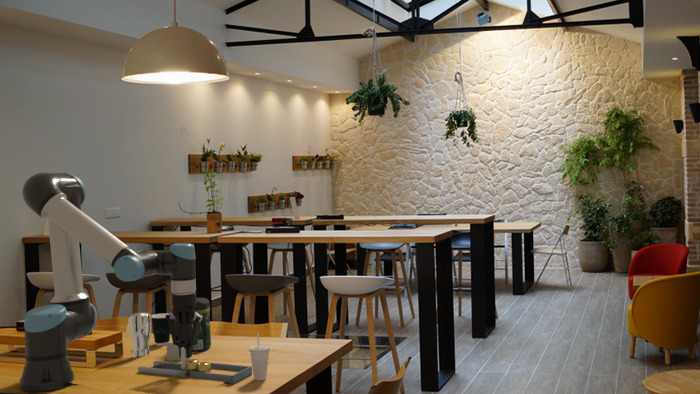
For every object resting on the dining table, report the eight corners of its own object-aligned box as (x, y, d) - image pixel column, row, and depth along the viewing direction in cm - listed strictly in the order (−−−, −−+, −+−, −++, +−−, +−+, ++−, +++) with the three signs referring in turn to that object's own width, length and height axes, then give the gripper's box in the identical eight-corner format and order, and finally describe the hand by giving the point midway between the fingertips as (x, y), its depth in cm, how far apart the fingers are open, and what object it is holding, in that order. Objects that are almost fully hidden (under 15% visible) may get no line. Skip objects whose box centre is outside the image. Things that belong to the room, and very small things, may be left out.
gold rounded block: (194, 375, 205) (193, 363, 205) (183, 374, 207) (183, 361, 207) (202, 372, 209) (201, 359, 209) (191, 371, 211) (191, 358, 211)
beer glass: (154, 354, 238) (154, 312, 238) (147, 359, 231) (146, 316, 231) (136, 354, 238) (135, 312, 238) (127, 359, 232) (126, 316, 231)
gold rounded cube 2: (207, 378, 204) (207, 365, 204) (195, 377, 205) (195, 364, 205) (213, 374, 208) (212, 362, 208) (201, 374, 209) (201, 361, 209)
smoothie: (260, 374, 209) (259, 330, 209) (275, 378, 205) (274, 332, 205) (245, 379, 204) (244, 334, 204) (259, 383, 200) (258, 336, 200)
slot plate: (185, 380, 204) (185, 372, 204) (138, 375, 211) (137, 367, 210) (202, 373, 212) (202, 365, 212) (156, 368, 219) (156, 360, 219)
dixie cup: (157, 347, 248) (156, 318, 247) (147, 344, 253) (147, 315, 253) (176, 344, 253) (176, 315, 253) (166, 340, 259) (166, 312, 259)
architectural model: (167, 362, 228) (167, 341, 228) (188, 361, 229) (187, 339, 229) (166, 365, 224) (166, 343, 224) (187, 363, 226) (187, 342, 225)
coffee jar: (192, 345, 250) (191, 296, 249) (213, 345, 249) (212, 296, 249) (184, 352, 240) (183, 300, 240) (205, 352, 240) (204, 300, 239)
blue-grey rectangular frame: (233, 384, 199) (233, 375, 199) (189, 379, 205) (189, 371, 205) (251, 374, 209) (251, 366, 209) (210, 370, 215) (209, 362, 215)
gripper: (208, 291, 210) (210, 366, 210) (174, 290, 215) (175, 363, 215) (194, 295, 203) (196, 372, 203) (159, 294, 208) (161, 369, 208)
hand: (185, 367), depth 209 cm, fingers closed
